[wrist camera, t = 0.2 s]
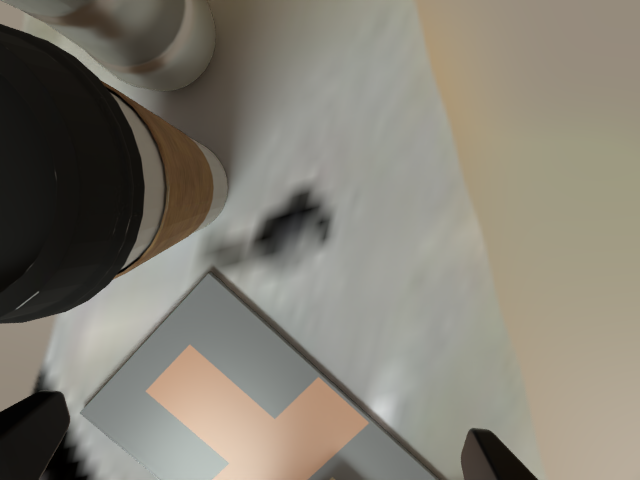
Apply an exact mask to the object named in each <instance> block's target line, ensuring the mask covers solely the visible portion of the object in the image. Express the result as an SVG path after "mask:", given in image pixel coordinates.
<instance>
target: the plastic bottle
mask: <svg viewBox="0 0 640 480" xmlns="http://www.w3.org/2000/svg"><path fill="white" fill-rule="evenodd" d="M1 1H3V2H5V3H7V4H9V5H11V6H13V7H15V8H18V9H20V10H22V11H24V12H25V13H27V14H29V15H31V16H33V17H35V18H37V19H39V20H41V21H43V22H44V23H46V24H47V25H49V26H50V27H52V28H53V29H55V30H56V31H57V32H59V33H60V34H62V35H63V36H65V37H66V38H68V39H69V40H70V41H72V42H73V43H75V44H76V45H78V46H79V47H81V48H82V49H84V50H85V51H86V52H87V53H88V54H89V55H90V56H91V57H92V58H93V59H94V60H95V61H97V62H98V63H99V64H100V65H101V66H102V67H104V68H105V69H106V70H107V71H109V72H110V73H111V74H113V75H114V76H115V77H117V78H119V79H120V80H122V81H124V82H125V83H127V84H130V85H133V86H136V87H139V88H144V89H149V90H155V91H173V90H177V89H180V88H183V87H185V86H187V85H189V84H191V83H192V82H193V81H195V80H196V79H197V78H198V77H199V76H200V75H201V74H202V73H203V72H204V70H205V69H206V68H207V66H208V64H209V62H210V61H211V58H212V55H213V52H214V49H215V41H216V32H215V24H214V20H213V16H212V13H211V10H210V8H209V5H208V2H207V0H1Z"/></svg>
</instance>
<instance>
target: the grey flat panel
mask: <svg viewBox="0 0 640 480" xmlns="http://www.w3.org/2000/svg"><path fill="white" fill-rule="evenodd" d="M80 414H81V415H83V416H84V417H85V418H86V419H87V420H89V421H90V422H91V423H92V424H93V425H94V426H96V427H97V428H98V429H99V430H100V431H102V432H103V433H104V434H105V435H106V436H108V437H109V438H110V439H111V440H112V441H114V442H115V443H116V444H117V445H118V446H120V447H121V448H122V449H123V450H124V451H126V452H127V453H128V454H129V455H130V456H132V457H133V458H134V459H135V460H136V461H137V462H139V463H140V464H141V465H142V466H143V467H145V468H146V469H147V470H148V471H149V472H151V473H152V474H153V475H154V476H155V477H157V478H158V479H159V480H330V479H331V478H332V477H333V478H334V479H335V480H439V479H438V478H437V477H436V476H435V475H434V474H433V473H432V472H431V471H430V470H428V469H427V468H426V467H425V466H424V465H423V464H422V463H421V462H420V461H419V460H417V459H416V458H415V457H414V456H413V455H412V454H411V453H410V452H409V451H408V450H406V449H405V448H404V447H403V446H402V445H401V444H400V443H399V442H398V441H396V440H395V439H394V438H393V437H392V436H391V435H390V434H389V433H388V432H387V431H385V430H384V429H383V428H382V427H381V426H380V425H379V424H378V423H377V422H376V421H374V420H373V419H372V418H371V417H370V416H369V415H368V414H367V413H366V412H365V411H363V410H362V409H361V408H360V407H359V406H358V405H357V404H356V403H355V402H354V401H352V400H351V399H350V398H349V397H348V396H347V395H346V394H345V393H344V392H342V391H341V390H340V389H339V388H338V387H337V386H336V385H335V384H334V383H333V382H331V381H330V380H329V379H328V378H327V377H326V376H325V375H324V374H323V373H322V372H320V371H319V370H318V369H317V368H316V367H315V366H314V365H313V364H312V363H311V362H309V361H308V360H307V359H306V358H305V357H304V356H303V355H302V354H301V353H300V352H298V351H297V350H296V349H295V348H294V347H293V346H292V345H291V344H290V343H289V342H287V341H286V340H285V339H284V338H283V337H282V336H281V335H280V334H279V333H277V332H276V331H275V330H274V329H273V328H272V327H271V326H270V325H269V324H268V323H266V322H265V321H264V320H263V319H262V318H261V317H260V316H259V315H258V314H257V313H255V312H254V311H253V310H252V309H251V308H250V307H249V306H248V305H247V304H246V303H244V302H243V301H242V300H241V299H240V298H239V297H238V296H237V295H236V294H235V293H233V292H232V291H231V290H230V289H229V288H228V287H227V286H226V285H225V284H224V283H222V282H221V281H220V280H219V279H218V278H217V277H216V276H215V275H214V274H212V273H211V272H210V273H208V274H207V275H206V276H205V278H204V279H203V280H202V281H201V282H200V283H199V284H198V285H197V286H196V287H195V288H194V289H193V291H192V292H191V293H190V294H189V295H188V296H187V297H186V298H185V299H184V300H183V301H182V303H181V304H180V305H179V306H178V307H177V308H176V309H175V310H174V311H173V312H172V313H171V314H170V316H169V317H168V318H167V319H166V320H165V321H164V322H163V323H162V324H161V325H160V326H159V327H158V329H157V330H156V331H155V332H154V333H153V334H152V335H151V336H150V337H149V338H148V339H147V340H146V342H145V343H144V344H143V345H142V346H141V347H140V348H139V349H138V350H137V351H136V352H135V353H134V355H133V356H132V357H131V358H130V359H129V360H128V361H127V362H126V363H125V364H124V365H123V366H122V368H121V369H120V370H119V371H118V372H117V373H116V374H115V375H114V376H113V377H112V378H111V379H110V381H109V382H108V383H107V384H106V385H105V386H104V387H103V388H102V389H101V390H100V391H99V393H98V394H97V395H96V396H95V397H94V398H93V399H92V400H91V401H90V402H89V403H88V404H87V406H86V407H85V408H84V409H83V410H82V411H81V412H80Z"/></svg>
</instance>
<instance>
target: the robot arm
mask: <svg viewBox="0 0 640 480" xmlns="http://www.w3.org/2000/svg"><path fill="white" fill-rule="evenodd" d="M69 424H70V415H69V411H68V408H67V404H66V401H65V397H64V395H63V393H61V392H59V391H50V390H42V391H39V392H37V393H35V394H33V395H31V396H29V397H27V398H25V399H23V400H22V401H20V402H18V403H16V404H14V405H13V406H11V407H9V408H7V409H5V410H3V411H1V412H0V480H39V479H40V477H41V475H42V474H43V472H44V470H45V468H46V467H47V465H48V463H49V461H50V460H51V458H52V456H53V454H54V452H55V451H56V449H57V447H58V445H59V444H60V442H61V440H62V438H63V437H64V435H65V433H66V431H67V429H68V427H69ZM461 465H462V470H463V475H464V480H538V479H537V478H536V477H535V476H534V475H533V474H532V473H531V472H530V471H529V470H528V469H527V468H526V467H525V466H524V464H523V463H522V462H521V461H520V460H519V459H518V458H517V457H516V456H515V455H514V454H513V453H512V452H511V451H510V450H509V449H508V448H507V447H506V446H505V445H504V444H503V443H502V442H501V441H500V439H499V438H498V437H497V436H496V435H495V434H494V433H493V432H491V431H490V430H487V429H476V428H472V429H470V430H469V431H468V434H467V437H466V440H465V444H464V447H463V450H462V454H461Z"/></svg>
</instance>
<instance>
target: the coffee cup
mask: <svg viewBox="0 0 640 480" xmlns="http://www.w3.org/2000/svg"><path fill="white" fill-rule="evenodd" d="M227 191H228V185H227V178H226V174H225V171H224V168H223V167H222V165H221V163H220V161H219V160H218V158H217V157H216V156H215V155H214V154H213V153H212V152H211V151H210V150H209V149H208V148H207V147H205V146H203V145H202V144H200V143H198V142H197V141H195V140H193V139H191V138H190V137H188V136H187V135H186V134H184V133H183V132H181V131H180V130H178V129H176V128H175V127H173V126H172V125H170V124H169V123H167V122H166V121H164V120H163V119H161V118H160V117H158V116H156V115H155V114H153V113H152V112H150V111H149V110H147V109H146V108H144V107H143V106H141V105H139V104H138V103H136V102H135V101H133V100H132V99H130V98H129V97H127V96H126V95H124V94H122V93H121V92H119V91H118V90H116V89H114V88H113V87H111V86H109V85H108V84H106V83H104V82H102V81H101V80H100V79H99V78H98V77H97V76H96V75H95V74H94V73H92V72H91V71H90V70H89V69H88V68H87V67H86V66H84V65H83V64H82V63H81V62H80V61H79V60H78V59H77V58H75V57H74V56H73V55H71V54H69V53H67V52H66V51H64V50H62V49H61V48H59V47H57V46H55V45H54V44H52V43H50V42H49V41H46V40H44V39H41V38H38V37H35V36H33V35H31V34H28V33H25V32H22V31H19V30H16V29H13V28H10V27H8V26H4V25H2V24H0V323H23V322H27V321H31V320H35V319H39V318H43V317H47V316H51V315H55V314H59V313H62V312H66V311H68V310H70V309H72V308H74V307H76V306H78V305H80V304H82V303H84V302H86V301H88V300H90V299H91V298H92V297H93V296H95V295H96V294H97V293H98V292H100V291H101V290H102V289H104V288H105V287H106V286H107V285H108V284H109V283H110V282H111V281H112V280H113V279H115V278H117V277H119V276H121V275H123V274H125V273H127V272H129V271H130V270H132V269H134V268H136V267H137V266H139V265H141V264H142V263H144V262H146V261H147V260H149V259H151V258H152V257H154V256H156V255H158V254H159V253H161V252H163V251H164V250H166V249H168V248H169V247H171V246H173V245H174V244H176V243H178V242H180V241H181V240H183V239H185V238H186V237H188V236H189V235H191V234H192V233H194V232H196V231H198V230H200V229H202V228H204V227H206V226H207V225H209V224H210V223H211V222H213V221H214V220H215V219H216V218H217V216H218V215H219V214H220V213H221V211H222V209H223V207H224V205H225V202H226V198H227Z"/></svg>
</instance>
